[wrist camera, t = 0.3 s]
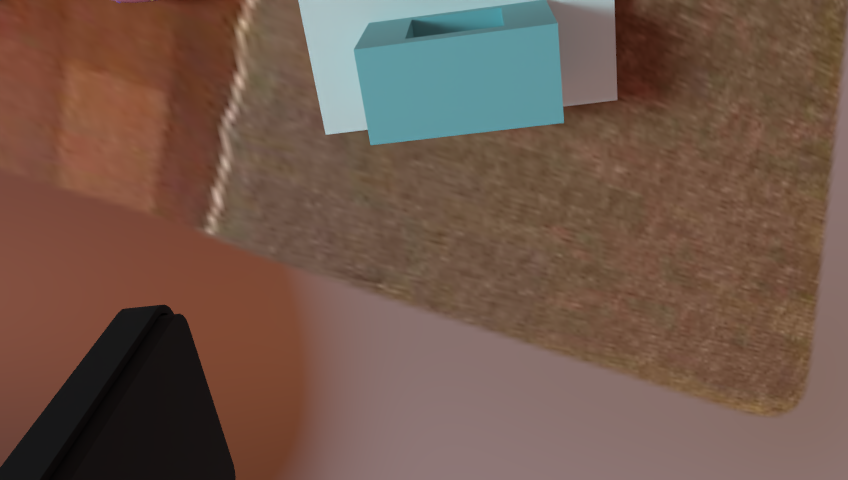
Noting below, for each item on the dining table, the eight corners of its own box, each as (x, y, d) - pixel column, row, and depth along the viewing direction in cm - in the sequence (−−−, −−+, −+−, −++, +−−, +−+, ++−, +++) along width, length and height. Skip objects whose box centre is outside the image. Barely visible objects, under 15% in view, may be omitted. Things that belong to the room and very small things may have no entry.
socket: (368, 22, 36) (353, 49, 31) (545, -1, 35) (557, 23, 30) (382, 107, 37) (370, 145, 33) (551, 87, 36) (563, 122, 32)
